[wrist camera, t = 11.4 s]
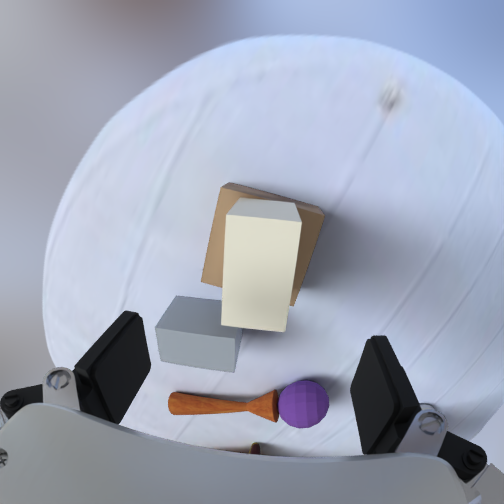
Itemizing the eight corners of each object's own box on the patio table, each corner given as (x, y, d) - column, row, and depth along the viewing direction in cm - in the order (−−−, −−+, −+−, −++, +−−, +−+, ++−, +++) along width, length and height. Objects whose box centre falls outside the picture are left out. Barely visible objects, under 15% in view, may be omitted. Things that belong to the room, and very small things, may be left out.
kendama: (157, 399, 29) (327, 398, 25) (176, 374, 35) (326, 368, 30) (172, 432, 30) (330, 435, 25) (189, 406, 36) (329, 403, 31)
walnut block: (317, 206, 24) (325, 215, 20) (291, 285, 27) (293, 306, 23) (229, 182, 24) (220, 187, 20) (211, 263, 27) (200, 281, 23)
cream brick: (240, 197, 20) (226, 214, 15) (294, 202, 20) (301, 222, 14) (234, 283, 23) (221, 325, 17) (283, 288, 23) (284, 332, 17)
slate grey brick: (243, 302, 28) (234, 338, 22) (242, 334, 29) (234, 372, 23) (176, 295, 28) (154, 327, 22) (179, 326, 29) (160, 361, 24)
